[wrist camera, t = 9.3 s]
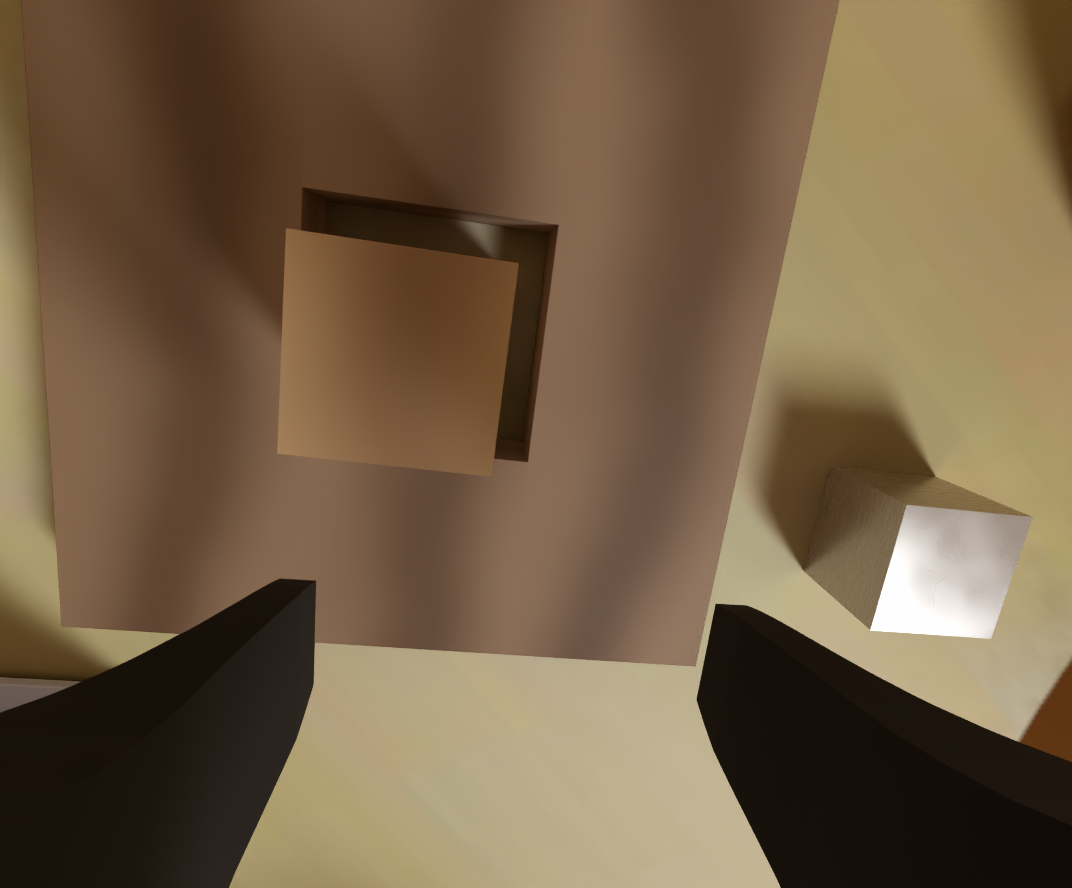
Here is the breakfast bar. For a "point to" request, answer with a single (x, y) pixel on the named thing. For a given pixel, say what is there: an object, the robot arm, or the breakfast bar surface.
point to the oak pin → (392, 353)
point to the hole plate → (428, 189)
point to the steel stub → (914, 552)
